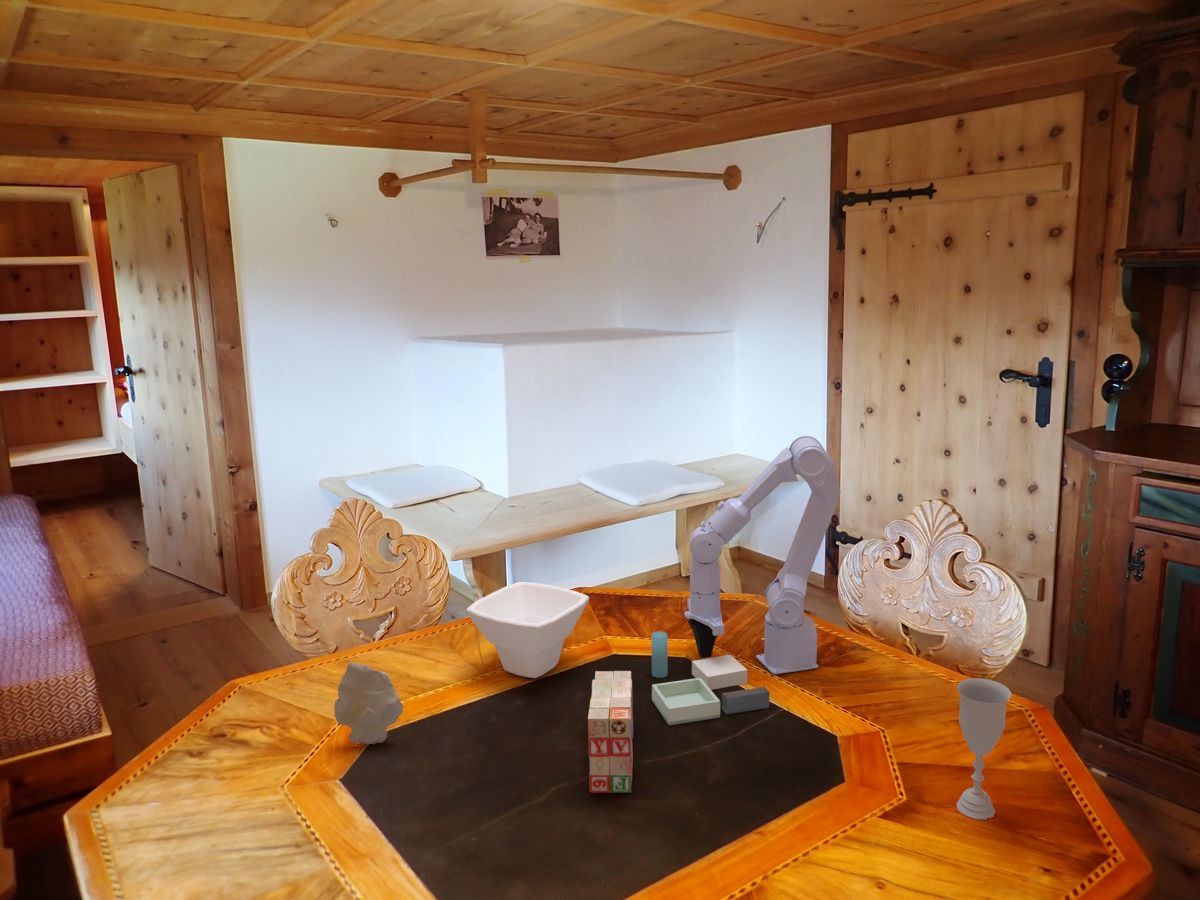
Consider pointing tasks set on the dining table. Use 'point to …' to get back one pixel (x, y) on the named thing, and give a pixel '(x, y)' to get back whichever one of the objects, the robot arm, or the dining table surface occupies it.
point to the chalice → (980, 736)
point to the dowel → (659, 654)
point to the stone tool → (367, 703)
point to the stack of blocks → (611, 732)
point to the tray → (685, 701)
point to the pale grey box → (720, 671)
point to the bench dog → (745, 700)
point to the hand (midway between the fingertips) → (705, 655)
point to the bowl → (528, 624)
